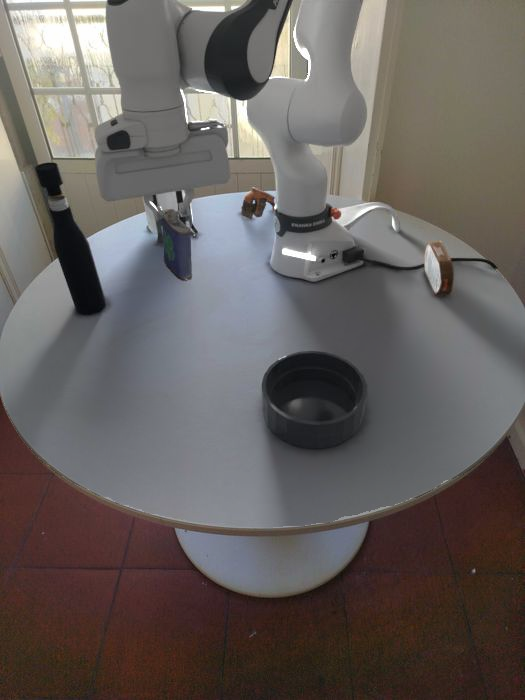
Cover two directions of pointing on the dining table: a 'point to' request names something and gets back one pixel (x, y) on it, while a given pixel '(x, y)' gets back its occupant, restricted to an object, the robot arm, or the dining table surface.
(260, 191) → the orange brown figure
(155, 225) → the coffee press
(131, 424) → the dining table surface
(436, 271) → the tin
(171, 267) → the flask
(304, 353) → the black screw cap
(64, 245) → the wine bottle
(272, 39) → the robot arm
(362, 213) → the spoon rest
